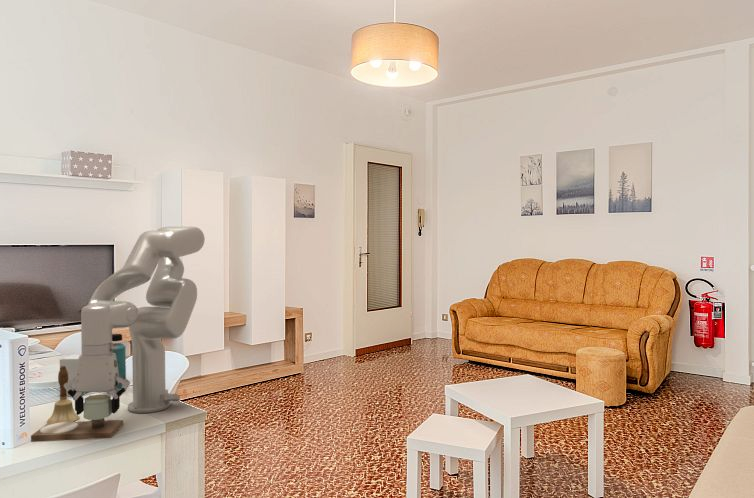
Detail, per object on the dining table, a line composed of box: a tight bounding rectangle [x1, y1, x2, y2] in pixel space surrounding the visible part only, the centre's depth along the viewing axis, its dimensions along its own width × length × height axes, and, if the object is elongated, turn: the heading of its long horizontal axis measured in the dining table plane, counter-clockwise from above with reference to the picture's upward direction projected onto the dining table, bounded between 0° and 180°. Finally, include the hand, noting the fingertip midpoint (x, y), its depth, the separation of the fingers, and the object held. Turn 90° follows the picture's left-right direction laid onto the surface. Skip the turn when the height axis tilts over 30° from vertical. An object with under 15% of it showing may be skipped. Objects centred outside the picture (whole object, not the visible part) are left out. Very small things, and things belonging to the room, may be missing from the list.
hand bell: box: [46, 366, 80, 424], centre depth 163 cm, size 8×8×16 cm
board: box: [30, 419, 124, 442], centre depth 153 cm, size 20×10×2 cm, turn 97°
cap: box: [83, 393, 113, 421], centre depth 153 cm, size 6×6×6 cm
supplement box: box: [59, 354, 88, 397], centre depth 190 cm, size 7×7×13 cm
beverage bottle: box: [112, 333, 127, 390], centre depth 192 cm, size 6×7×20 cm
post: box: [90, 418, 105, 429], centre depth 153 cm, size 3×3×7 cm
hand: (97, 412), depth 153 cm, fingers open, 8 cm apart
